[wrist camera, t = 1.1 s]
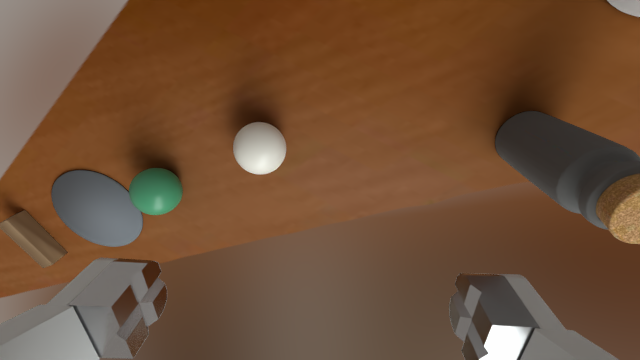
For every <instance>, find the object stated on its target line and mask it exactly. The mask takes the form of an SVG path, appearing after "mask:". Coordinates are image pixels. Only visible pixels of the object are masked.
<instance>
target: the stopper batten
mask: <svg viewBox="0 0 640 360" xmlns="http://www.w3.org/2000/svg"><path fill="white" fill-rule="evenodd" d="M0 228H1V229H2V230H3V231H4V232H5V233H6V234H7V235H8V236H9V237H10V238H11V239H12V240H13V241H14V242H16V243H17V244H18V245H19V246H20V247H21V248H22V249H23V250H24V251H25V252H26V253H27V254H28V255H30V256H31V257H32V258H33V259H34V260H35V261H36V262H37V263H38V264H39V265H40V266H41V267H42V268H45V267H47V266H50V265H53V264H54V263H55V262H57V261H58V260H59V259H60V258H61V257H63V256H64V255H65V254H66V253H68V252H67V251H66V250H65V249H64V248H63V247H62V246H61V245H60V244H59V243H58V242H57V241H56V240H55V239H54V238H53V237H52V236H51V235H50V234H49V233H48V232H47V231H46V230H45V229H44V228H43V227H42V226H41V225H40V224H39V223H38V222H37V221H36V220H35V219H34V218H33V217H32V216H31V215H30V214H29V213H28V212H27V211H26V210H24V211H21V212H19V213H17V214H15V215H13V216H11V217H10V218H8V219H6V220H4V221H3V222H1V223H0Z"/></svg>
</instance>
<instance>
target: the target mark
mask: <svg viewBox="0 0 640 360" xmlns="http://www.w3.org/2000/svg"><path fill="white" fill-rule="evenodd" d="M52 202H53V205H54V208H55V210H56V212H57V214H58V215H59V217H60V218H61V220H62V221H63V222H64V223H65V224H66V225H67V226H68V227H69V228H70V229H71V230H72V231H74V232H75V233H76V234H78V235H79V236H81V237H83V238H84V239H86V240H88V241H91V242H93V243H96V244H99V245H104V246H112V247H114V246H123V245H126V244H129V243H131V242H132V241H134V240H135V239H136V238H137V237H138V236H139V234H140V232H141V230H142V226H143V217H142V213H141V211H140V210H138V209H137V208H136V207H135V206H134V205H133V204H132V202H131V200H130V197H129V192H128V191H127V190H126V189H125V188H124V187H123V186H122V185H120V184H119V183H118V182H116V181H115V180H113V179H111V178H109V177H107V176H105V175H103V174H100V173H97V172H94V171H88V170H75V171H70V172H67V173H65V174H63V175H62V176H60V177H59V178H58V179H57V180H56V181H55V183H54V185H53V188H52Z"/></svg>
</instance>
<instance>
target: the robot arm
mask: <svg viewBox="0 0 640 360" xmlns="http://www.w3.org/2000/svg"><path fill="white" fill-rule="evenodd" d="M607 1H608V2H609V3H610V4H611V5H612V6H614V7H615V8H617V9H618V10H620V11H622V12H624V13H627V14H630V15H633V16H638V17H640V0H607ZM160 273H161V269H160V267H159V264H158V262H155V261H151V260H135V259H120V258H119V259H113V258H99V259H96V260H94V261H93V262H92V263H91V264H90V265H89V266H87V267H86V268H85V269H84V270H83V271H82V272H81V273H80V274H79V275H78V276H77V277H75V278H74V279H73V280H72V281H71V282H70V283H69V284H68V285H67V286H66V287H65V288H64V289H62V290H61V291H60V292H59V293H58V294H57V295H56V296H55V297H54V298H53V299H52V300H51V301H50V302H49V303H47V304H46V305H38V306H36V307H34V308H32V309H30V310H28V311H26V312H24V313H22V314H20V315H18V316H16V317H14V318H12V319H10V320H8V321H5V322H3V323H1V324H0V360H100V359H99V358H130V359H131V358H132V359H133V358H134V357H135V355H136V353H137V352H138V350H139V349H140V347H141V346H142V344H143V343H144V341H145V339H146V338H147V336H148V335H149V333H148V326H149V325H151V324H152V323H153V322H155V321H156V320H158V319H159V317H160V315H161V314H162V312H163V310H164V307H165V304H166V300H167V289H166V285H165V283H164V282H162V281H161V280H160V279H159V278H158V276H159V275H160ZM455 286H456V288H457V290H458V292H456V293H455V294H454V295H453V296H451V300H450V305H449V312H450V320H451V324H452V327H453V330H454V333H455V334H456V335H457V336H458V337H459V338H460V339H461V340H462V341H464V344H463V348H462V353H463V355H464V358H465V360H619V359H617V358H615V357H614V356H612V355H611V354H609V353H608V352H606V351H604V350H603V349H601V348H600V347H598V346H597V345H595V344H594V343H592V342H591V341H589V340H587V339H586V338H584V337H583V336H581V335H580V334H578V333H576V332H575V331H572V330H566V329H565V328H564V326H563V325H562V324H561V323H560V321H559V320H558V319H557V317H556V316H555V315H554V314H553V312H552V311H551V310H550V308H549V307H548V306H547V305H546V303H545V302H544V301H543V300H542V298H541V297H540V296H539V294H538V293H537V292H536V291H535V289H534V288H533V287H532V286H531V284H530V283H529V282H528V280H527V279H526V278H525V277H523V276H522V275H515V274H514V275H512V274H499V275H497V274H473V273H472V274H471V273H460V274H459V275H458V276H457V279H456V282H455Z"/></svg>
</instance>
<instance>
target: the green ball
mask: <svg viewBox="0 0 640 360" xmlns="http://www.w3.org/2000/svg"><path fill="white" fill-rule="evenodd" d="M182 193H183V189H182V184H181V182H180V180H179V178H178V177H177V176H176V175H175V174H174V173H172V172H171V171H169V170H166V169H163V168H150V169H147V170H144V171H142V172H140V173H139V174H137V175H136V176H135V177H134V179H133V180H132V182H131V184H130V187H129V197H130V200H131V202H132V204H133V205H134V206H135V207H136V208H137V209H138V210H140V211H141V212H143V213H146V214H150V215H160V214H164V213H167V212H169V211H171V210H172V209H174V208H175V207H176V206H177V205H178V203H179V202H180V200H181V198H182Z"/></svg>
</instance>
